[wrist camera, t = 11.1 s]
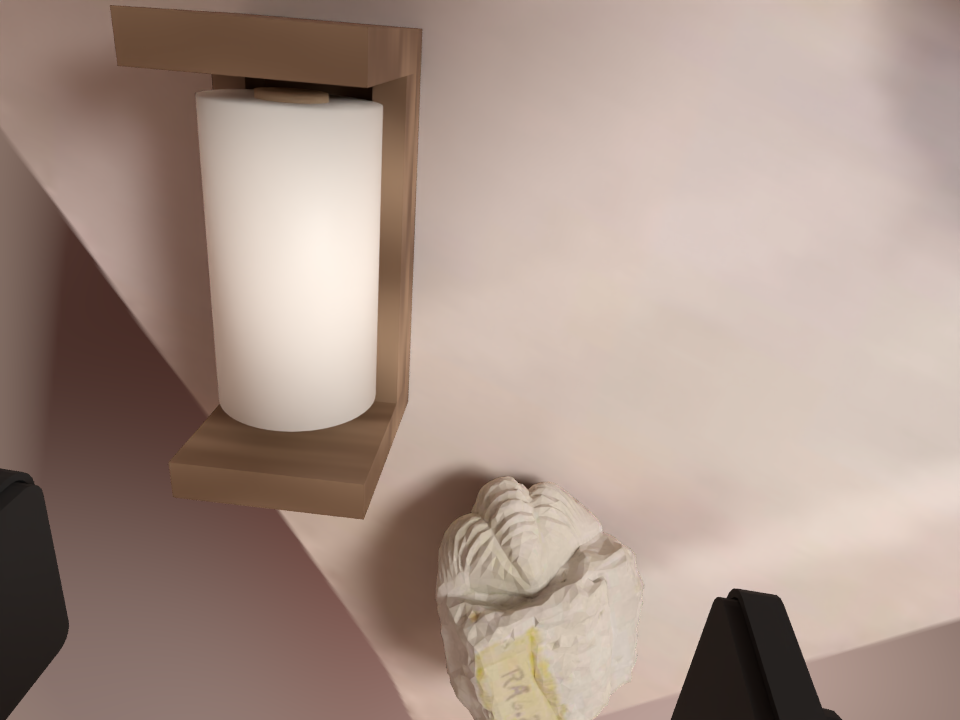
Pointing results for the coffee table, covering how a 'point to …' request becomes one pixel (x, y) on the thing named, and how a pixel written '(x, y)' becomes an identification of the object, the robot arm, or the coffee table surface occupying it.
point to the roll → (292, 252)
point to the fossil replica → (536, 606)
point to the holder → (396, 85)
